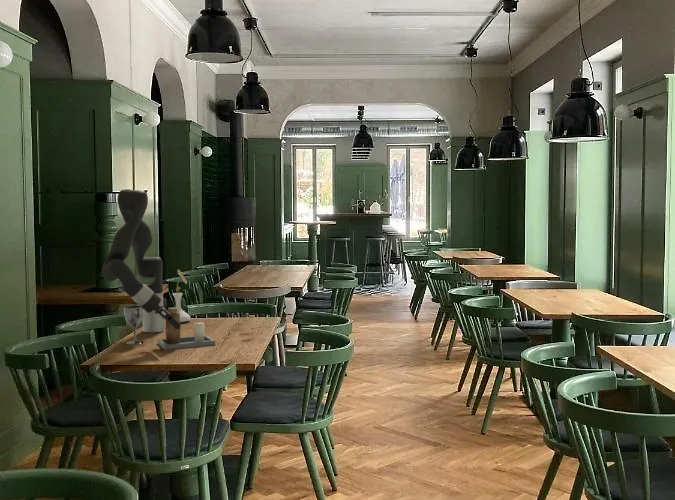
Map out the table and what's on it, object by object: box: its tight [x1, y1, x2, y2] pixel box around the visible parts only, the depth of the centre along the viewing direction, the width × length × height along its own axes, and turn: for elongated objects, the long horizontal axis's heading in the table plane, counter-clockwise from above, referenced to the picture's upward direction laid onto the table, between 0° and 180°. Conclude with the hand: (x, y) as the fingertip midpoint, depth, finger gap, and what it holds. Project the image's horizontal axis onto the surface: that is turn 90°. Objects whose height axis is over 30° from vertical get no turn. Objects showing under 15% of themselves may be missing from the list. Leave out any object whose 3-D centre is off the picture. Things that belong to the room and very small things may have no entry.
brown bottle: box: [165, 307, 181, 344], centre depth 295 cm, size 6×6×14 cm
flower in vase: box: [172, 269, 192, 323], centre depth 358 cm, size 13×11×25 cm
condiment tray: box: [156, 334, 216, 351], centre depth 297 cm, size 14×20×2 cm
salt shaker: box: [193, 321, 206, 342], centre depth 300 cm, size 4×4×8 cm
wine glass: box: [123, 304, 145, 345], centre depth 306 cm, size 8×8×15 cm
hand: (177, 326), depth 296 cm, fingers closed on brown bottle, 5 cm apart
